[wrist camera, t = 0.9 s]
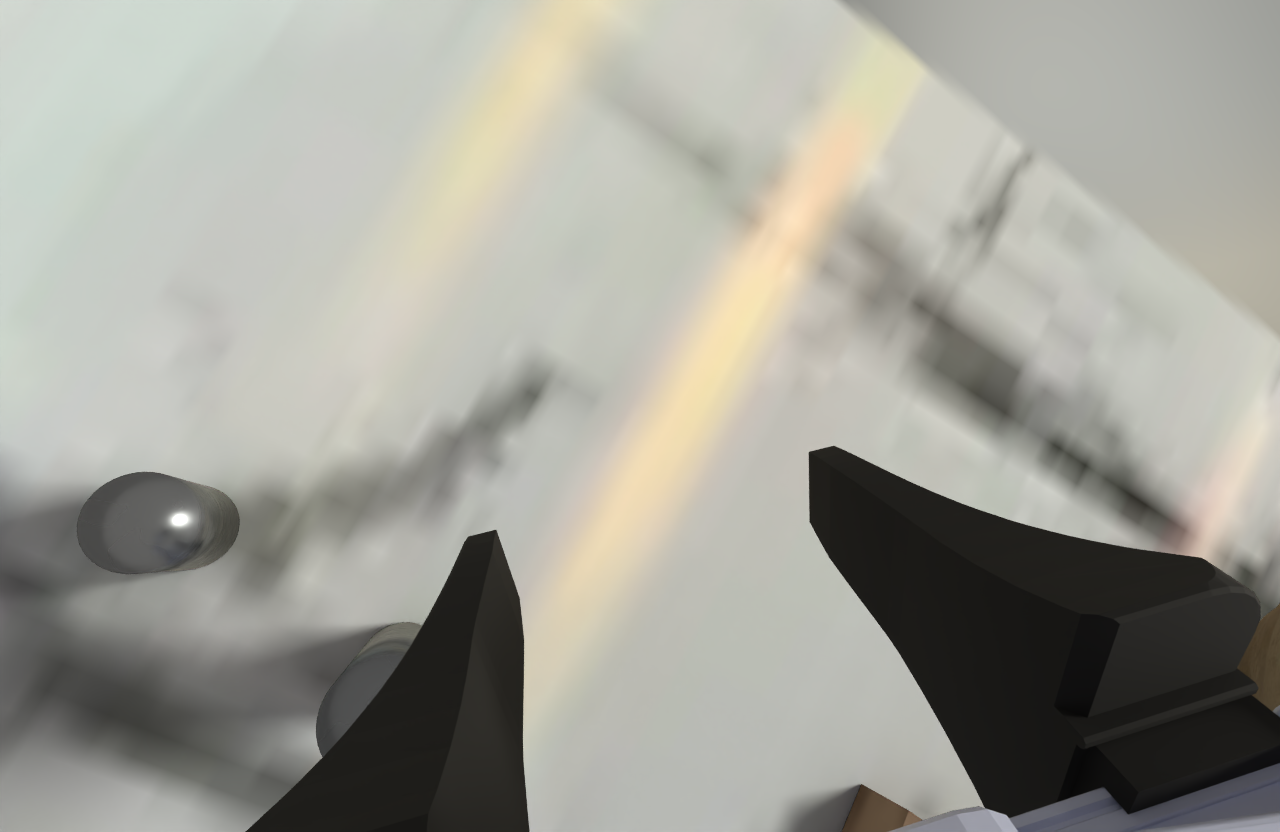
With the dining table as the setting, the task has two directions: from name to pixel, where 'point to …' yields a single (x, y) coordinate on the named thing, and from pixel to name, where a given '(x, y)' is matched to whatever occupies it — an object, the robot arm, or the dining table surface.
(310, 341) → the dining table surface
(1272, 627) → the bowl
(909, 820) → the hole plate
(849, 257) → the dining table surface
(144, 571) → the short pin
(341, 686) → the tall pin
